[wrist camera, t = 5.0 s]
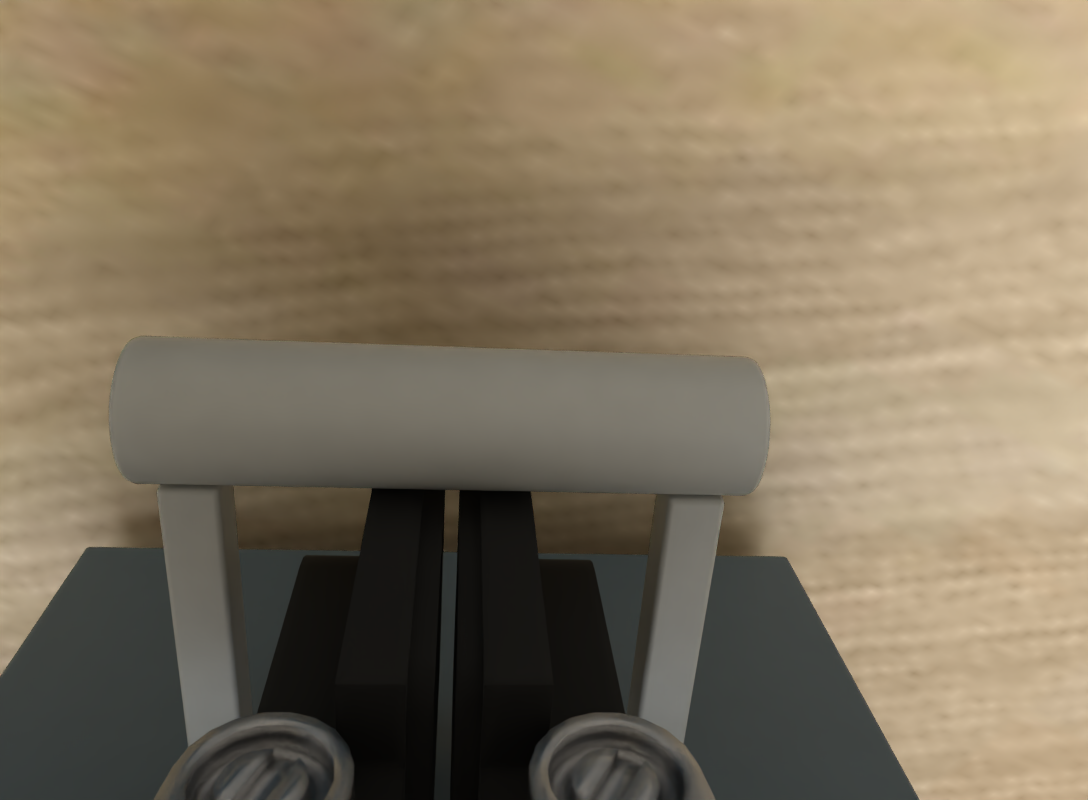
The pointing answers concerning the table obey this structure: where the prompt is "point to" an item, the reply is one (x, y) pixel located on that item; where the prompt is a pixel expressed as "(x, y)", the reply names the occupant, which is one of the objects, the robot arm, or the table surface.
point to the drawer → (443, 464)
